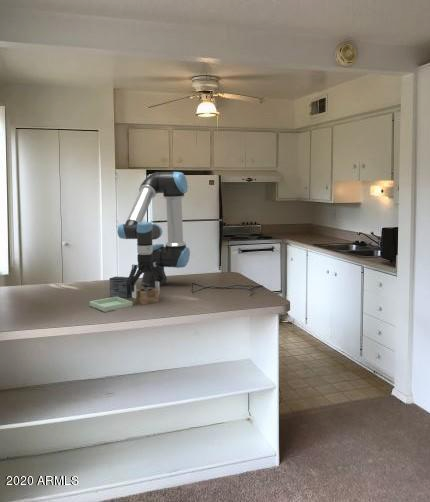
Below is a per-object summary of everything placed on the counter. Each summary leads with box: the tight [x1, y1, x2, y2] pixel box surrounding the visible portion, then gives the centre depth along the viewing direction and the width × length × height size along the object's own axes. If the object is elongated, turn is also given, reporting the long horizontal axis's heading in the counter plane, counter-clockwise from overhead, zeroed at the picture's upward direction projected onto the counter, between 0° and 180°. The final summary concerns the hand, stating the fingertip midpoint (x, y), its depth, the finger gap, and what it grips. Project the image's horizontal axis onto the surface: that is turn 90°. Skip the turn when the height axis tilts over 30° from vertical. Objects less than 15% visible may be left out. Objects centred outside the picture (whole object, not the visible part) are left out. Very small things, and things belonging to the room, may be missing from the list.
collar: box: [133, 286, 160, 306], centre depth 255 cm, size 9×9×6 cm
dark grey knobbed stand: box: [141, 283, 150, 291], centre depth 255 cm, size 8×8×10 cm
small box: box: [109, 276, 132, 299], centre depth 268 cm, size 11×6×10 cm, turn 71°
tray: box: [89, 297, 134, 313], centre depth 249 cm, size 15×15×2 cm
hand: (146, 296), depth 255 cm, fingers open, 13 cm apart
